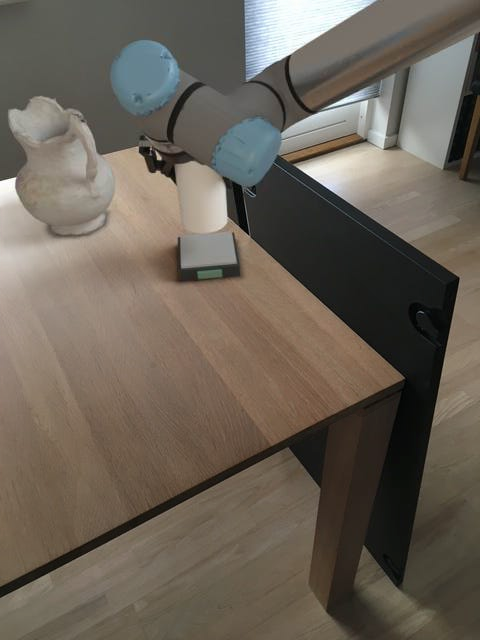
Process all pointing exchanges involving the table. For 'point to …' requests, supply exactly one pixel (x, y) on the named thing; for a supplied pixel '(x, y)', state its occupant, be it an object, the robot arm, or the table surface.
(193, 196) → the cup
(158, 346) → the table surface
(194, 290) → the table surface
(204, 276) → the scale
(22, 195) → the ceramic pitcher
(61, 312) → the table surface
